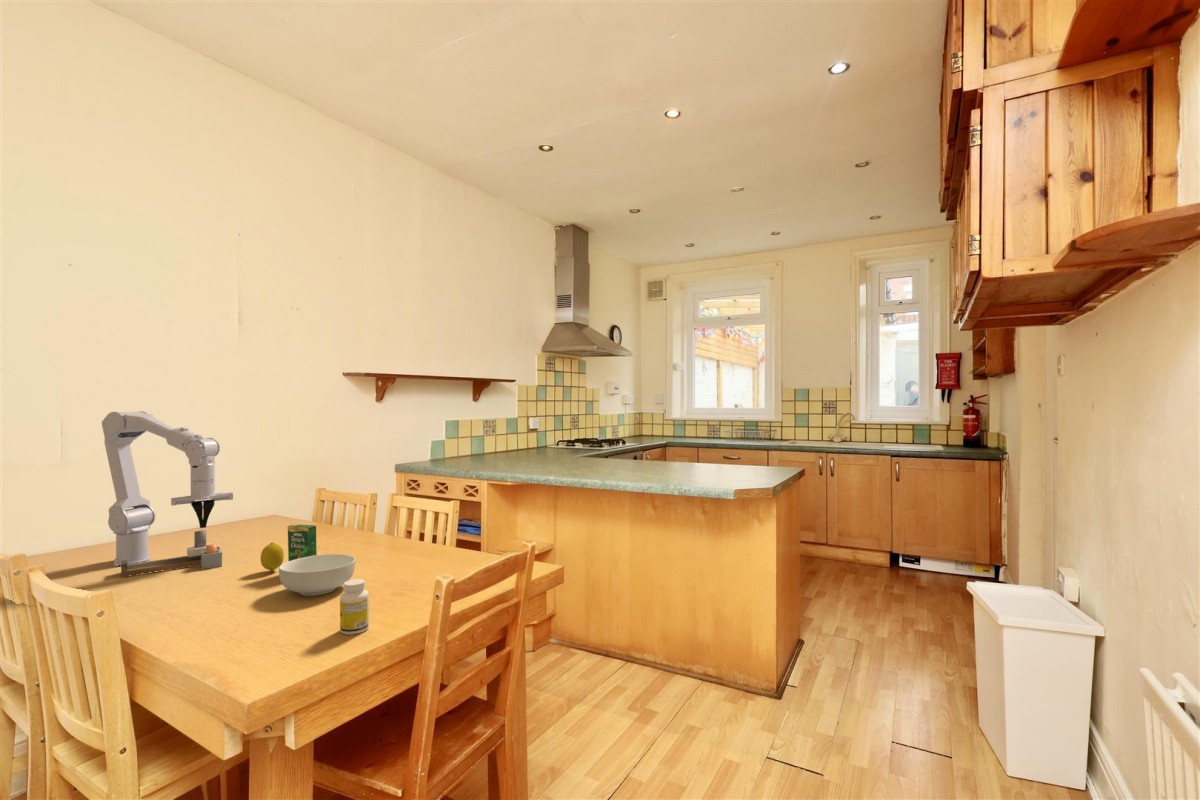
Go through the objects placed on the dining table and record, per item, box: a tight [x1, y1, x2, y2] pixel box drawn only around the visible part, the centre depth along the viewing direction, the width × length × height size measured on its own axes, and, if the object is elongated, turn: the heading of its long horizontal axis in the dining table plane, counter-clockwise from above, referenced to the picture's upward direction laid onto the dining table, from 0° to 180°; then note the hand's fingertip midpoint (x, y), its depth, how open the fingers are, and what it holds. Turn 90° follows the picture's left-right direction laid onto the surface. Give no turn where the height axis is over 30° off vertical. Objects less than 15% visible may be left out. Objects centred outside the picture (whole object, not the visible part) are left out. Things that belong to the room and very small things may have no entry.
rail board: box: [120, 546, 221, 578], centre depth 156 cm, size 6×22×4 cm, turn 129°
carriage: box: [186, 529, 213, 557], centre depth 160 cm, size 5×6×6 cm
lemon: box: [260, 542, 285, 572], centre depth 152 cm, size 6×6×8 cm
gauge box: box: [200, 548, 223, 570], centre depth 157 cm, size 5×5×4 cm
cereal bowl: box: [278, 553, 356, 597], centre depth 136 cm, size 17×17×7 cm
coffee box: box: [287, 523, 318, 562], centre depth 150 cm, size 8×3×13 cm, turn 68°
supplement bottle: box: [339, 578, 370, 636], centre depth 112 cm, size 5×5×10 cm
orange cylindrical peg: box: [206, 543, 218, 554], centre depth 157 cm, size 2×2×4 cm
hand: (202, 527), depth 160 cm, fingers closed
